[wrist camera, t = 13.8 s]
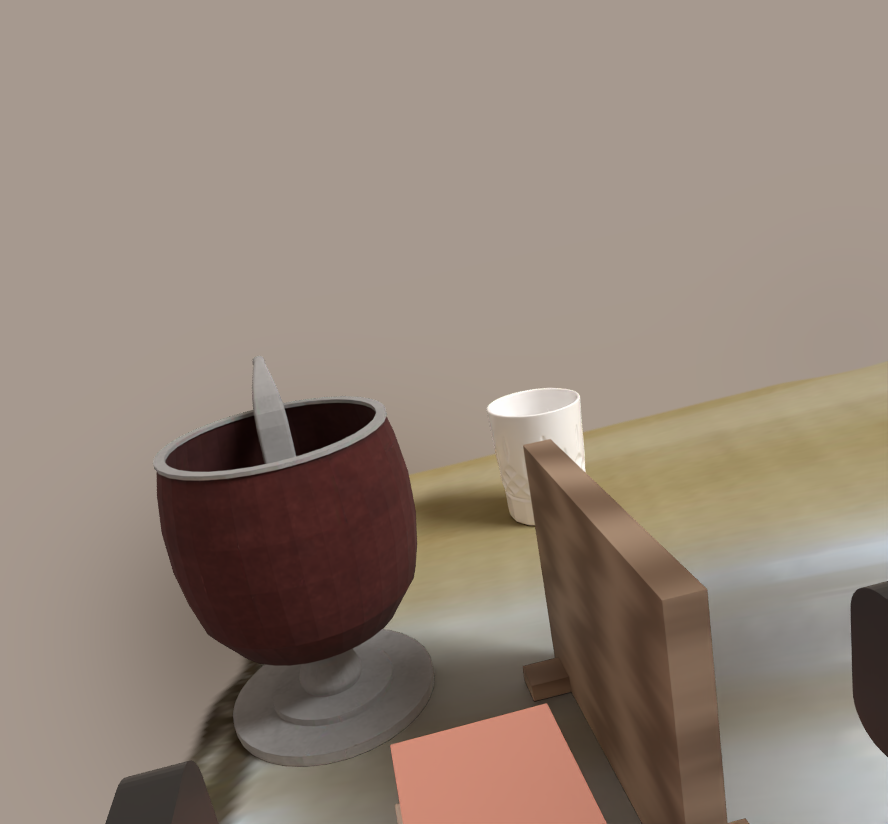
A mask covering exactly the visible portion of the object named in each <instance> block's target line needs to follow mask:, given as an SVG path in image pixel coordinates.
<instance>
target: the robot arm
mask: <svg viewBox="0 0 888 824" xmlns="http://www.w3.org/2000/svg"><path fill="white" fill-rule="evenodd" d="M851 643H852V680H853V698H854V703H855V707H856V710H857V713H858V715H859V718H860V720H861V722H862V724H863V726H864V728H865V730H866V732H867V733H868V735H869V736H870V738H871V739H872V741H873V742H874V743H875V745H876V746H877V747H878V748H879V749H880V750H881V751H882V752H883V753H884V754H885V755H886V756H887V757H888V581H886V582H883V583H879V584H875V585H871V586H867V587H863V588H860V589H858V590H856V592H855V593H854V594H853V596H852V600H851ZM106 824H218V821H217V818H216V815H215V812H214V809H213V806H212V803H211V800H210V797H209V794H208V791H207V788H206V785H205V782H204V779H203V777H202V774H201V771H200V769H199V767H198V766H197V764H196V763H195V762H194V761H187V762H183V763H179V764H176V765H171V766H168V767H164V768H160V769H156V770H152V771H148V772H145V773H141V774H137V775H133V776H129V777H126V778H124V779H123V780H122V781H121V782H120V784H119V785H118V788H117V790H116V793H115V797H114V800H113V802H112V805H111V808H110V811H109V814H108V817H107V820H106Z"/></svg>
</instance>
